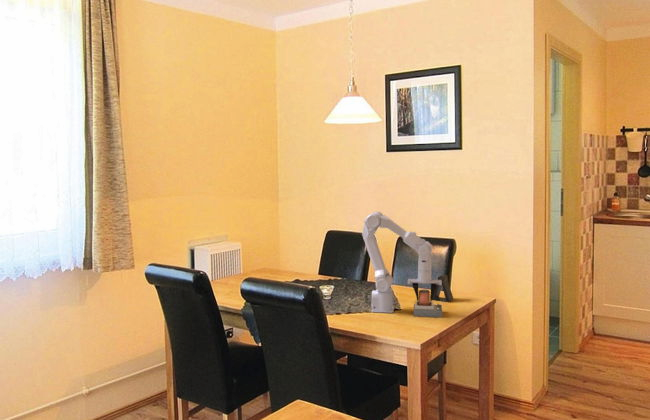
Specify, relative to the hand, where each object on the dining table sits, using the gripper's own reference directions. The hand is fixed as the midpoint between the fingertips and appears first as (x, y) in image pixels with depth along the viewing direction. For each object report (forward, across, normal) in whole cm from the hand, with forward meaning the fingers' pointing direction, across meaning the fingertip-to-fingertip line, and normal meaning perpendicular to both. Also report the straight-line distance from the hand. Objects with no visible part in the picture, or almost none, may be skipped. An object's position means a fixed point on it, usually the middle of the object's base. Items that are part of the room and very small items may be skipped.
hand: (424, 300), depth 245 cm
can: (+3, 0, 0) cm, 3 cm away
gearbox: (+6, -2, 0) cm, 6 cm away
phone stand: (+6, -8, -24) cm, 27 cm away
